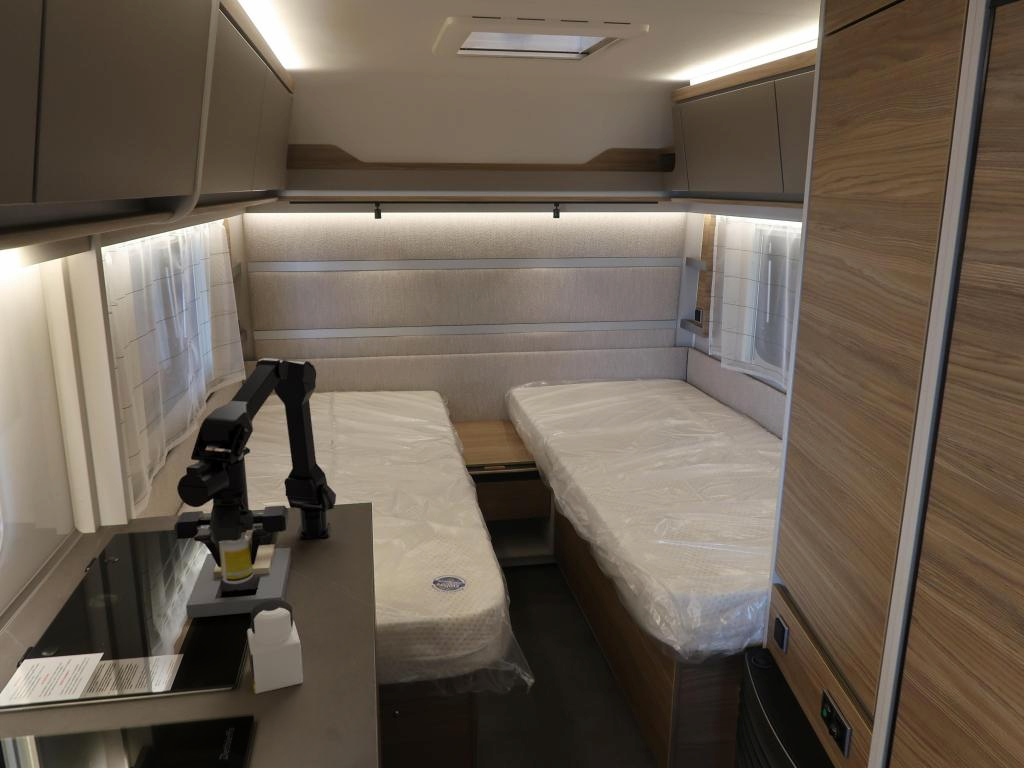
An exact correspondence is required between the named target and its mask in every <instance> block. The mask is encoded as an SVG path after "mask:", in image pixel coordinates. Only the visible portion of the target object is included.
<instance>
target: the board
mask: <svg viewBox="0 0 1024 768" xmlns="http://www.w3.org/2000/svg"><path fill="white" fill-rule="evenodd" d="M291 561H292V551H291V547H283V548H282V547H280V548H279V547H278V548H275V552H274V556H273V560H272V564H271V569H270V573H266V574H254V575H253V576H252V578H250V579H249V580H248V581H245V582H243V583H239V584H229V583H226V582H224V581H223V579H222V577H216V578H214V573H213V572H214V569H215V566H216V564H217V563H216V562H215V560H214V558H213V556H212V554H211V553H207V554H206V556H205V558H204V562H203V564H202V565H201V569H200V571H199V574H198V576H197V578H196V580H195V583H194V585H193V588H192V591H191V593H190V595H189V598H188V599H187V602H186V605H185V607H186V614H187V615H186V616H187V619H193V618H204V617H205V618H206V617H215V616H225V615H226V616H227V615H238V614H248V613H249V614H251V611H252V610H253V608H254V607H255V606H257V605H258V604H260V603H263V602H266V601H270V600H282V601H285V597H286V590H287V589H286V588H287V584H288V579H289V575H290V568H291ZM256 588H258V589H256ZM245 589H246V590H245ZM248 589H250V590H256V593H255V594H254V595H242V596H231V597H229V596H228V597H222V594H223V593H225V592H235V591H234V590H238V591H249V590H248Z"/></svg>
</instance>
